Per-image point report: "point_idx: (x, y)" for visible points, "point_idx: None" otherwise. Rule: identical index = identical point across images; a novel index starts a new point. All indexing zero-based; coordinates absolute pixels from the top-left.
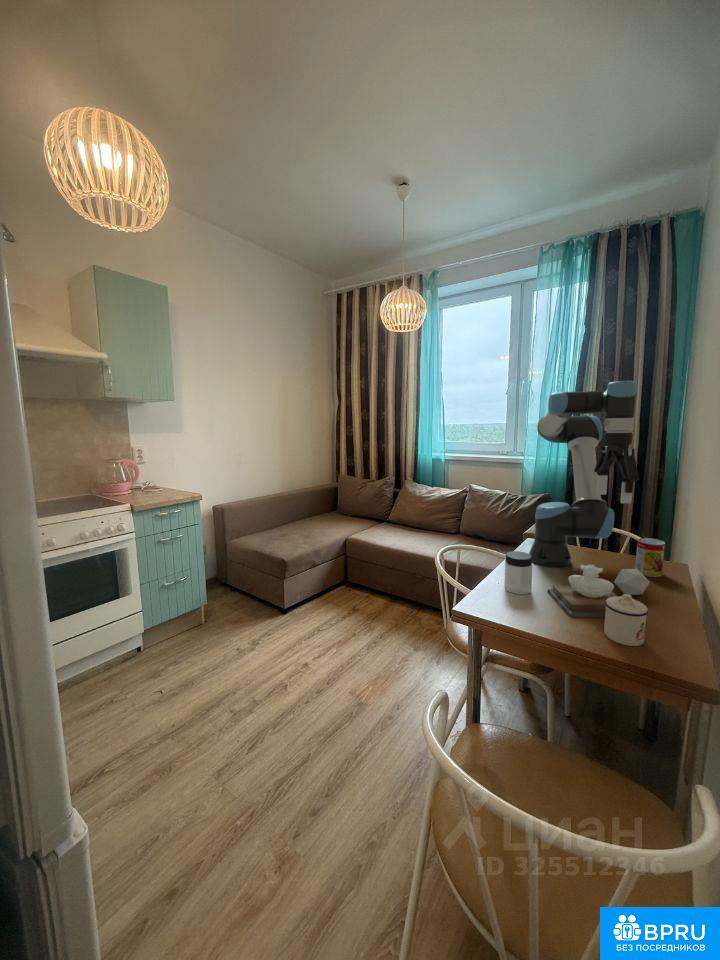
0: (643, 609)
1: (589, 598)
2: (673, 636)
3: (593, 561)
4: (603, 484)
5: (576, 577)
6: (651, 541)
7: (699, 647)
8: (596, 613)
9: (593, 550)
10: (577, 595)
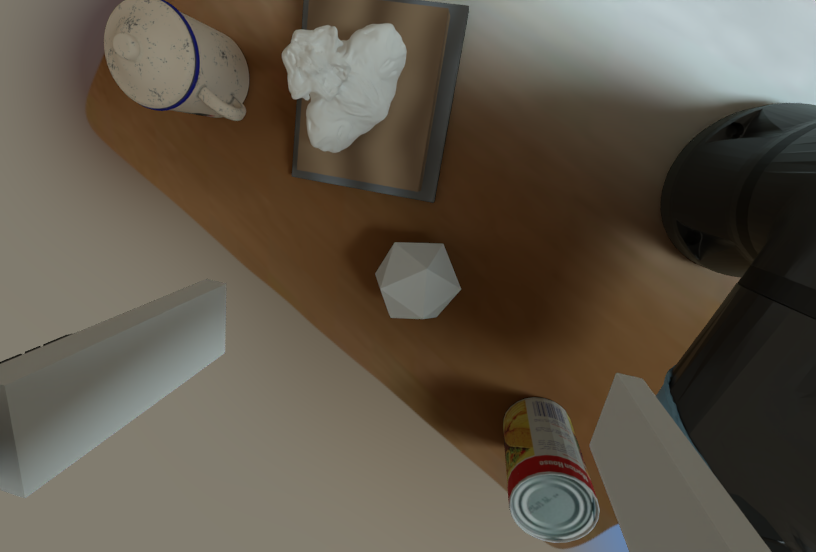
0: (115, 76)
1: None
2: (220, 194)
3: (675, 348)
4: (642, 507)
5: (356, 33)
6: (554, 509)
7: (185, 210)
8: None
9: None
10: None
